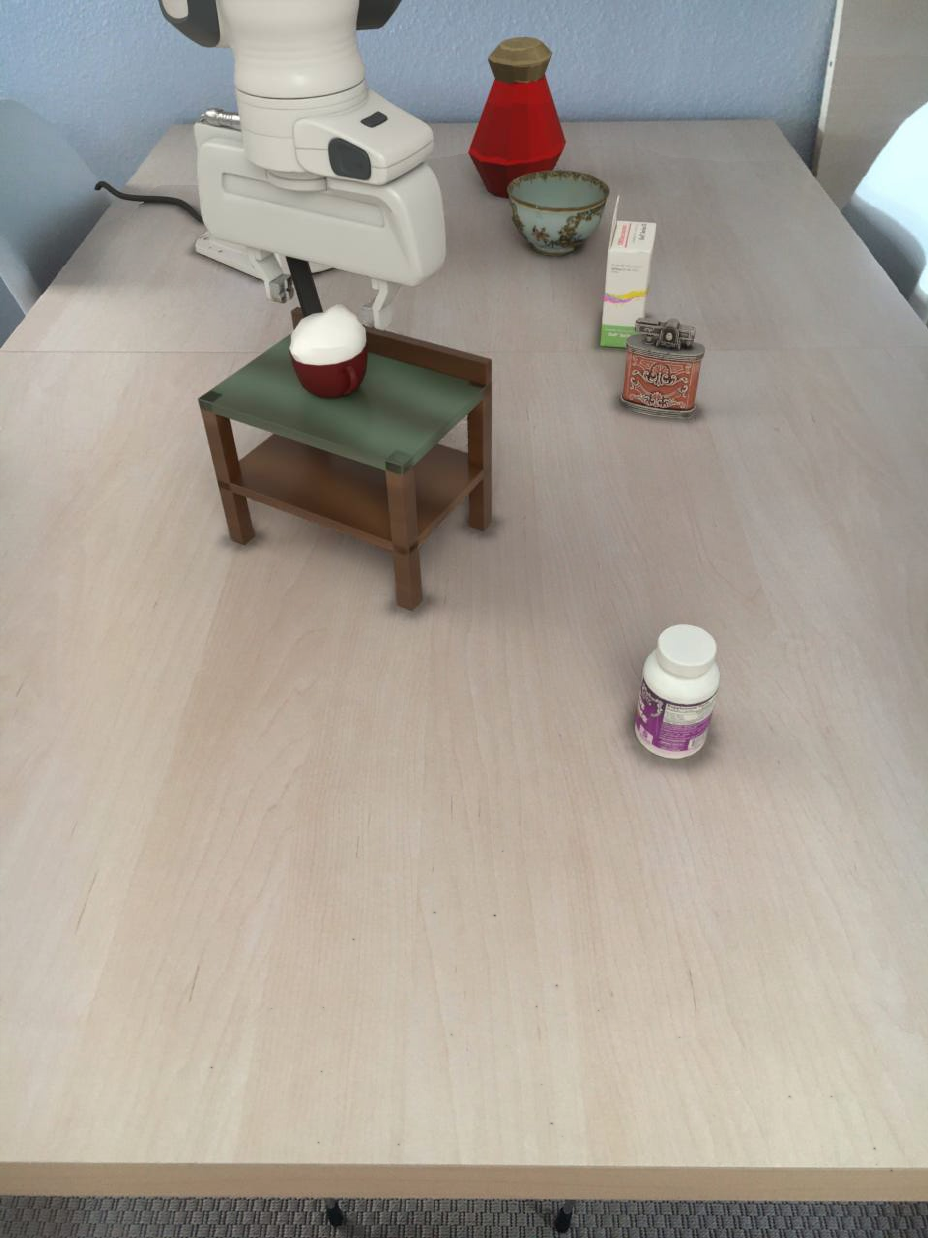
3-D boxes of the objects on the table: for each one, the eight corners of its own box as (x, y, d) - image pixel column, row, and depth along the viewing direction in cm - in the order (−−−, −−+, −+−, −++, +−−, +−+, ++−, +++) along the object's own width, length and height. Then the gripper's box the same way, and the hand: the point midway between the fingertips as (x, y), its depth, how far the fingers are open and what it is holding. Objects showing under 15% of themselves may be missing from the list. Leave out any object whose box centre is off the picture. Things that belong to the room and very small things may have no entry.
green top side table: (412, 611, 84) (400, 443, 73) (230, 540, 92) (192, 376, 80) (492, 522, 93) (492, 358, 81) (319, 463, 100) (296, 305, 89)
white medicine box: (641, 350, 116) (656, 224, 106) (598, 347, 117) (609, 221, 106) (646, 316, 122) (660, 194, 112) (606, 313, 123) (616, 191, 112)
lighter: (697, 405, 107) (711, 319, 100) (691, 421, 105) (705, 334, 98) (623, 393, 109) (632, 308, 102) (616, 409, 107) (625, 323, 100)
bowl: (491, 259, 135) (491, 199, 129) (524, 221, 143) (526, 164, 138) (588, 274, 131) (592, 213, 125) (616, 234, 140) (621, 176, 134)
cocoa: (374, 411, 79) (360, 266, 71) (296, 418, 79) (272, 273, 71) (366, 353, 86) (352, 215, 78) (293, 360, 86) (272, 221, 77)
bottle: (519, 163, 161) (522, 22, 147) (583, 184, 154) (592, 39, 140) (449, 190, 153) (446, 44, 139) (513, 213, 146) (516, 62, 132)
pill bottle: (627, 709, 76) (640, 618, 69) (695, 704, 76) (714, 613, 70) (642, 765, 72) (657, 674, 65) (714, 759, 72) (736, 668, 66)
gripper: (160, 116, 70) (200, 300, 80) (404, 163, 63) (416, 360, 72) (218, 91, 74) (250, 269, 84) (454, 132, 66) (459, 323, 76)
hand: (328, 312), depth 78 cm, fingers open, 8 cm apart
